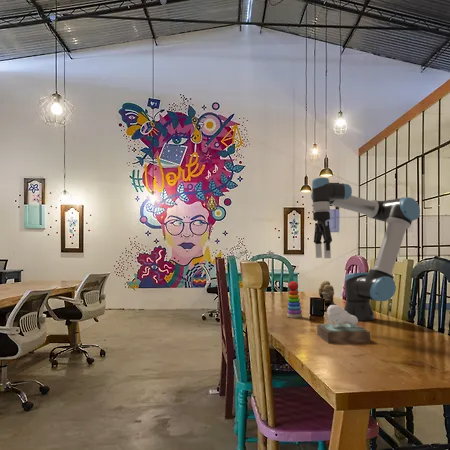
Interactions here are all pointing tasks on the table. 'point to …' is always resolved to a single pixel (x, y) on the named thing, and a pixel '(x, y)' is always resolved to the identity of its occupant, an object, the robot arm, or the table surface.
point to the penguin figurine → (340, 316)
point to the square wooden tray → (343, 333)
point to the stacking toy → (294, 301)
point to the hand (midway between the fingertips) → (323, 258)
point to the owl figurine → (327, 293)
